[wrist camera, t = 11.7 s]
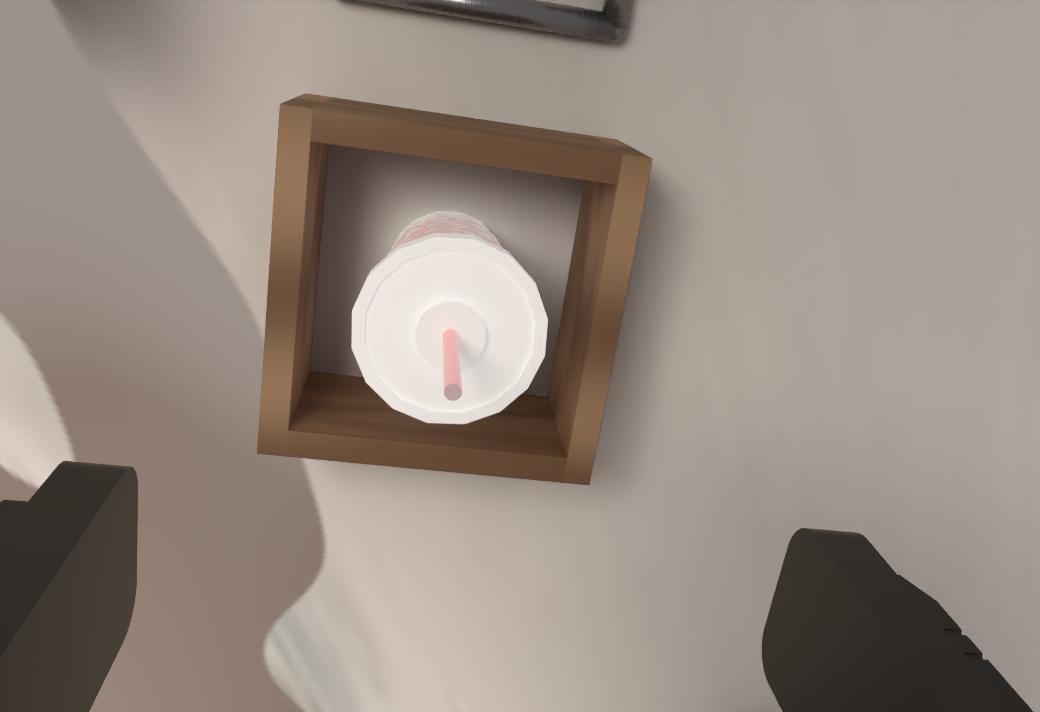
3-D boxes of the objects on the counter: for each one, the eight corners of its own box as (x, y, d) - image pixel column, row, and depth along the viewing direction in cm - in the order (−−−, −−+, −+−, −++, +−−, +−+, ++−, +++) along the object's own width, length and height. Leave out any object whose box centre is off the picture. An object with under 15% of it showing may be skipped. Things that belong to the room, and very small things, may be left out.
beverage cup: (339, 241, 36) (284, 354, 23) (473, 161, 35) (496, 230, 22) (421, 366, 38) (413, 537, 25) (549, 292, 37) (612, 428, 24)
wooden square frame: (305, 93, 34) (279, 104, 28) (617, 139, 35) (652, 158, 30) (283, 391, 38) (257, 453, 32) (566, 421, 39) (589, 485, 34)
